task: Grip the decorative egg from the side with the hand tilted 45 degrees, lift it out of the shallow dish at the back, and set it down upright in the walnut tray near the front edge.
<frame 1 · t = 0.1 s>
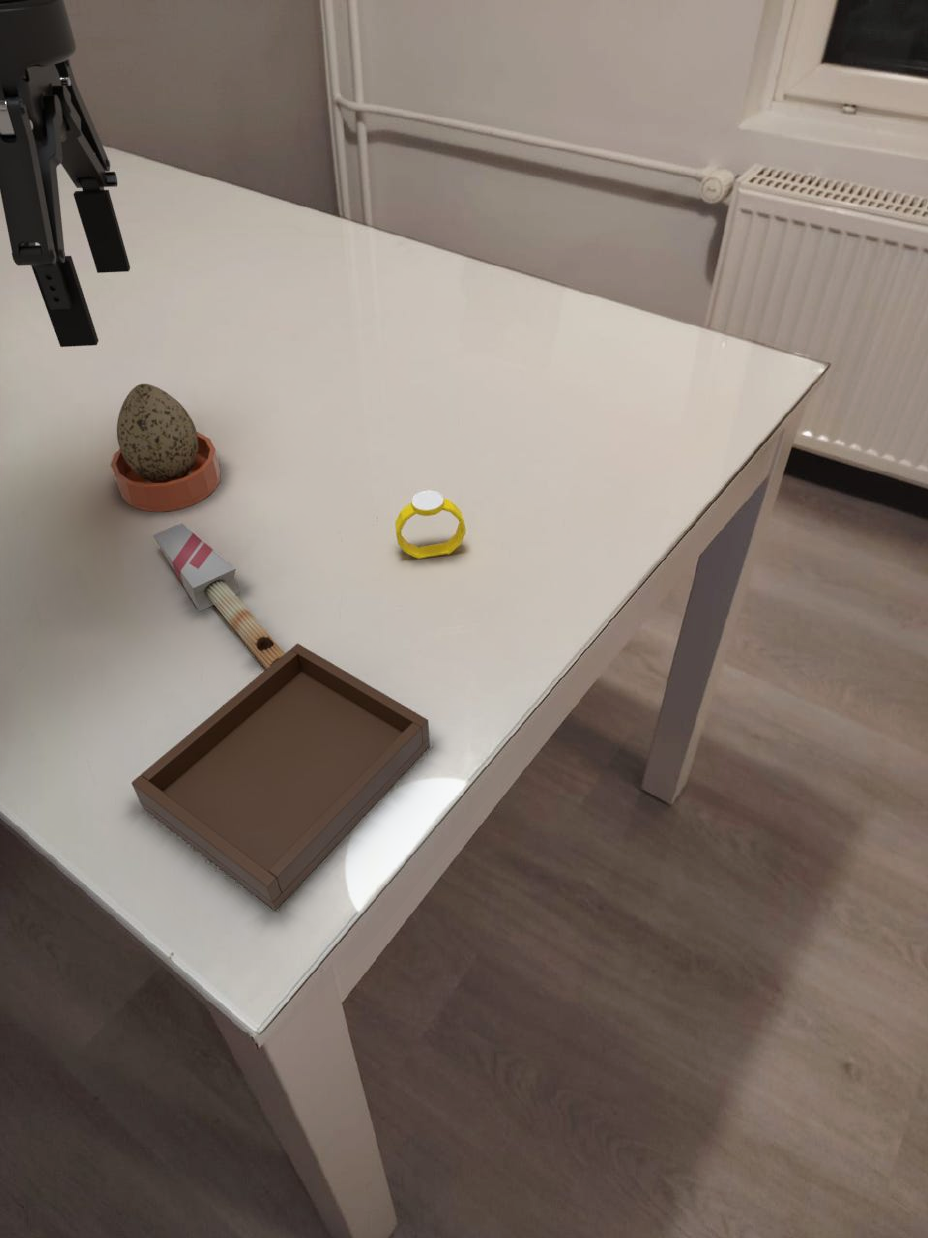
hand: (98, 305, 71), 19 cm above the table, tool pointing down, fingers open, 13 cm apart
watch: (431, 554, 78), on the table
shallow dish: (170, 481, 85), on the table
tray: (290, 776, 61), on the table
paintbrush: (222, 605, 73), on the table
decorative egg: (169, 478, 85), resting on shallow dish
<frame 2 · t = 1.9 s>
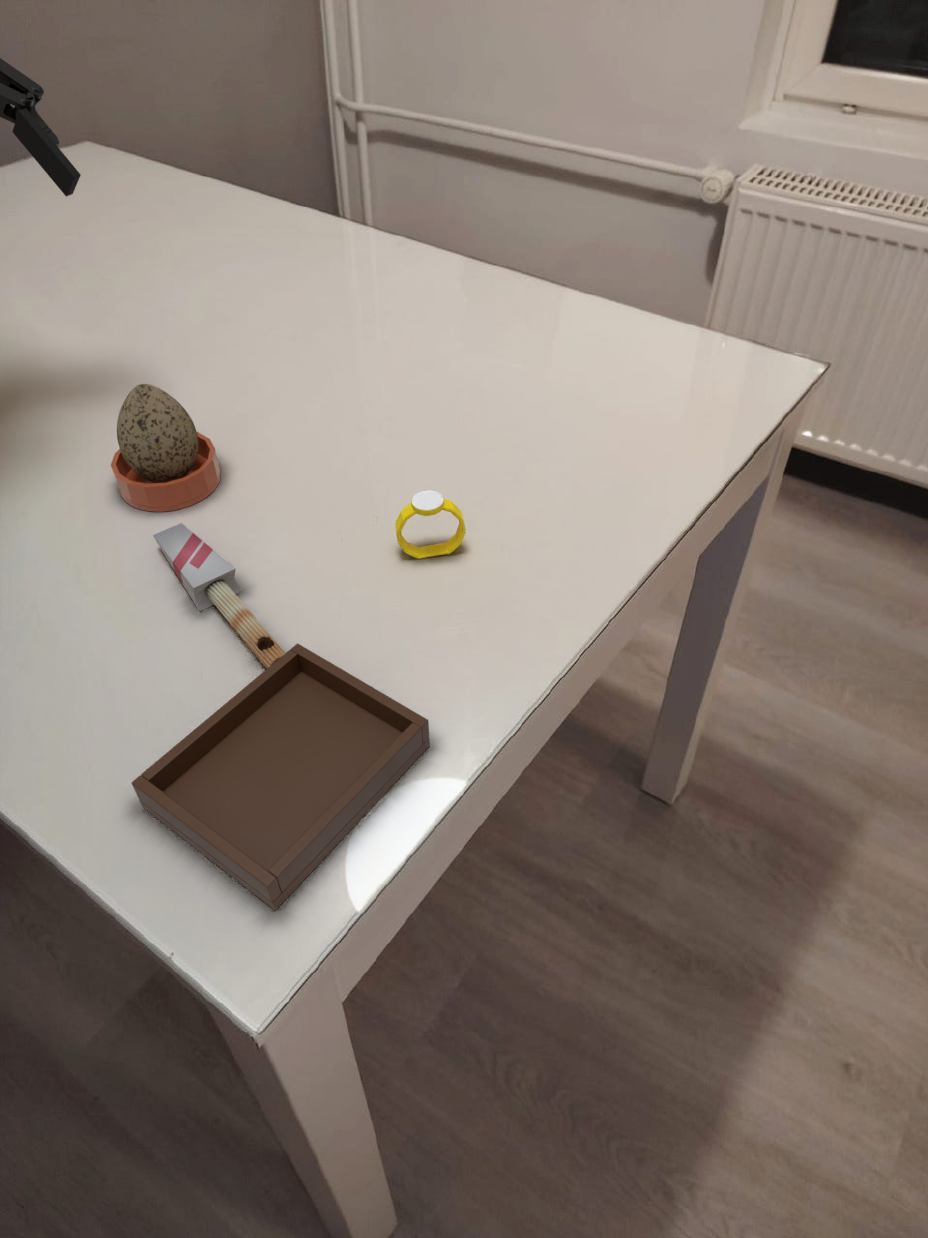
hand: (10, 211, 72), 24 cm above the table, tool tilted 45°, fingers open, 13 cm apart
nothing on the table moved.
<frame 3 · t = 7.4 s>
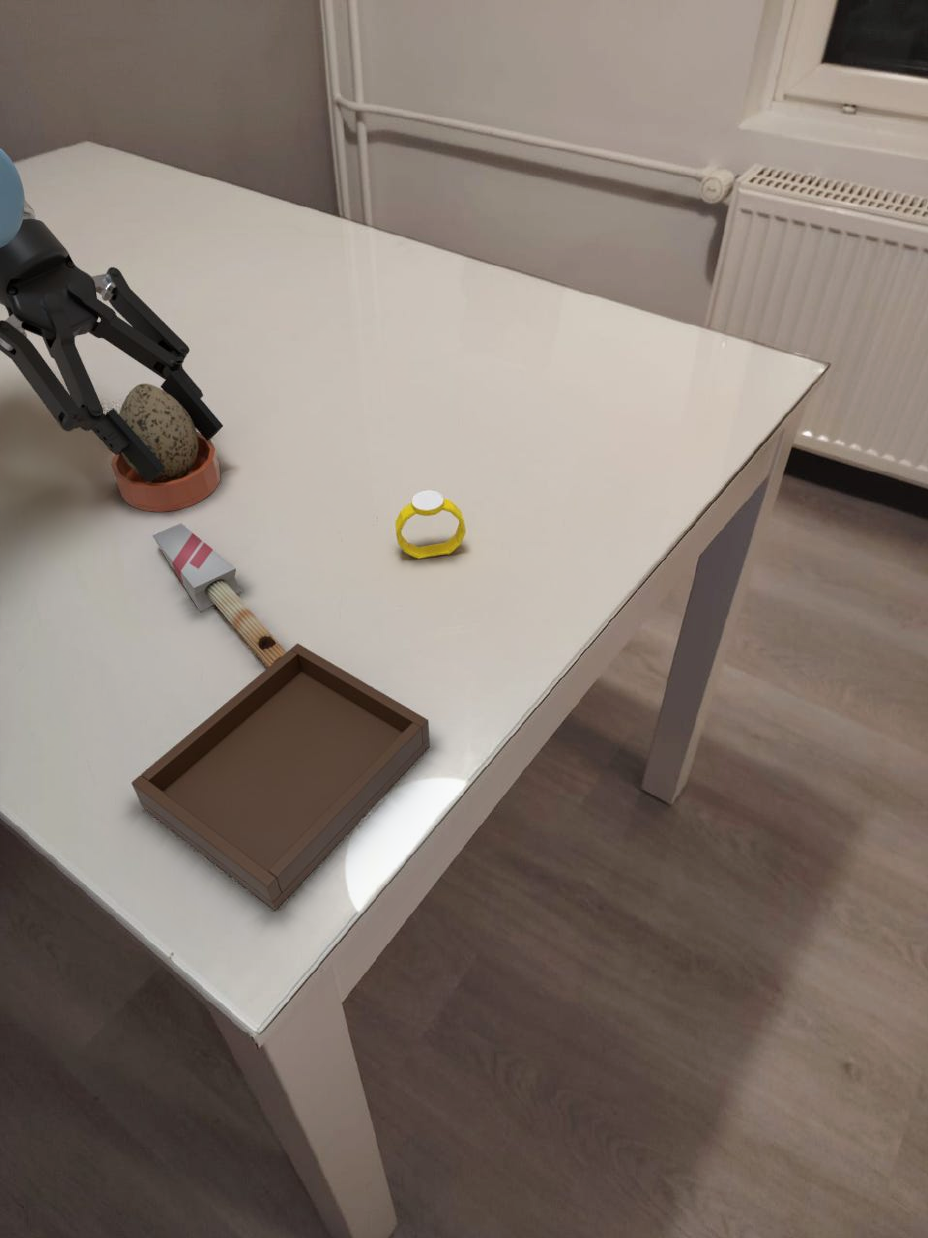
hand: (186, 453, 81), 5 cm above the table, tool tilted 45°, fingers closed on decorative egg, 7 cm apart
decorative egg: (169, 478, 85), resting on shallow dish, touching gripper
everything else where it was.
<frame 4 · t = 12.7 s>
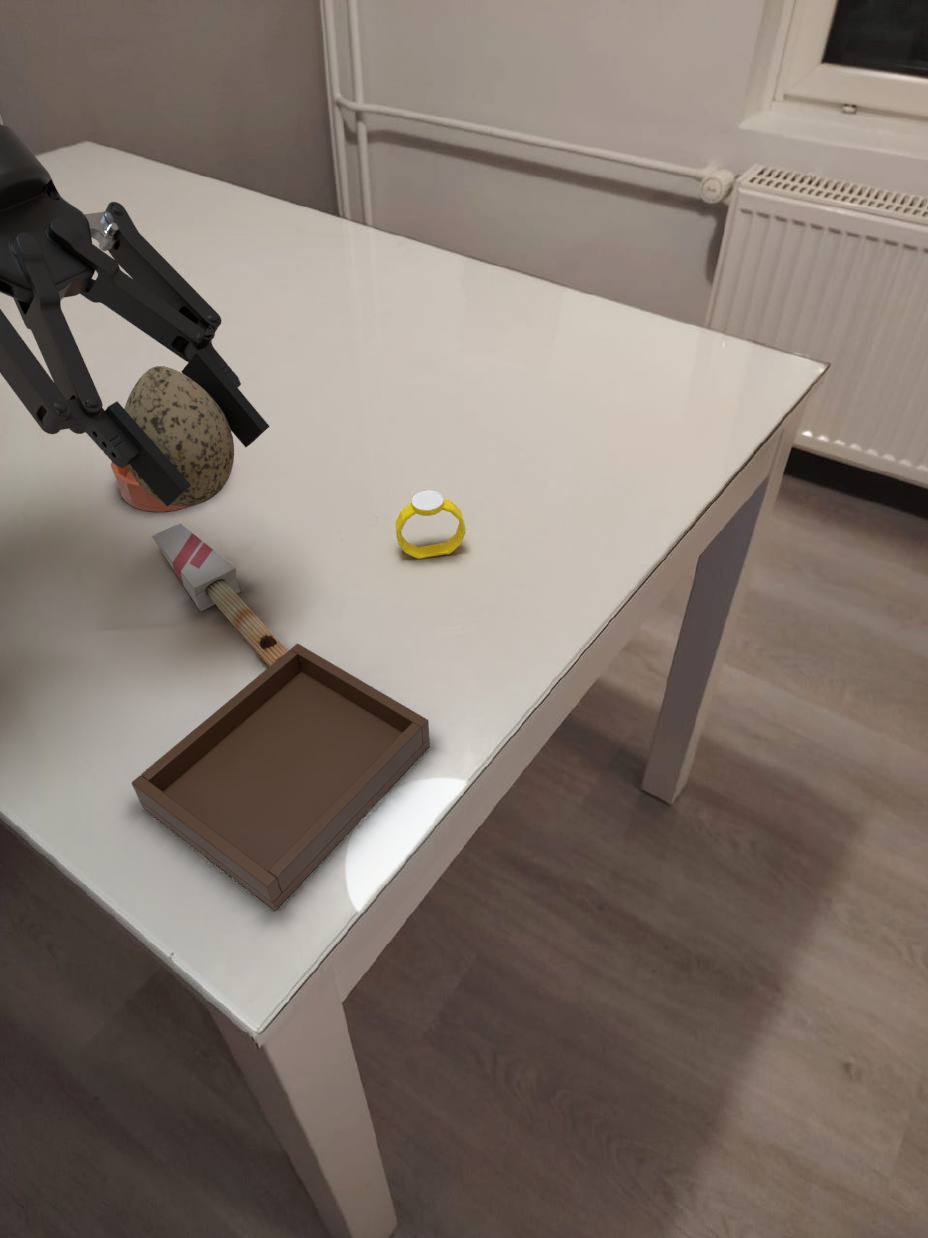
hand: (219, 464, 57), 17 cm above the table, tool tilted 45°, fingers closed on decorative egg, 7 cm apart
decorative egg: (193, 499, 62), point 13 cm above the table, touching gripper
everything else where it was.
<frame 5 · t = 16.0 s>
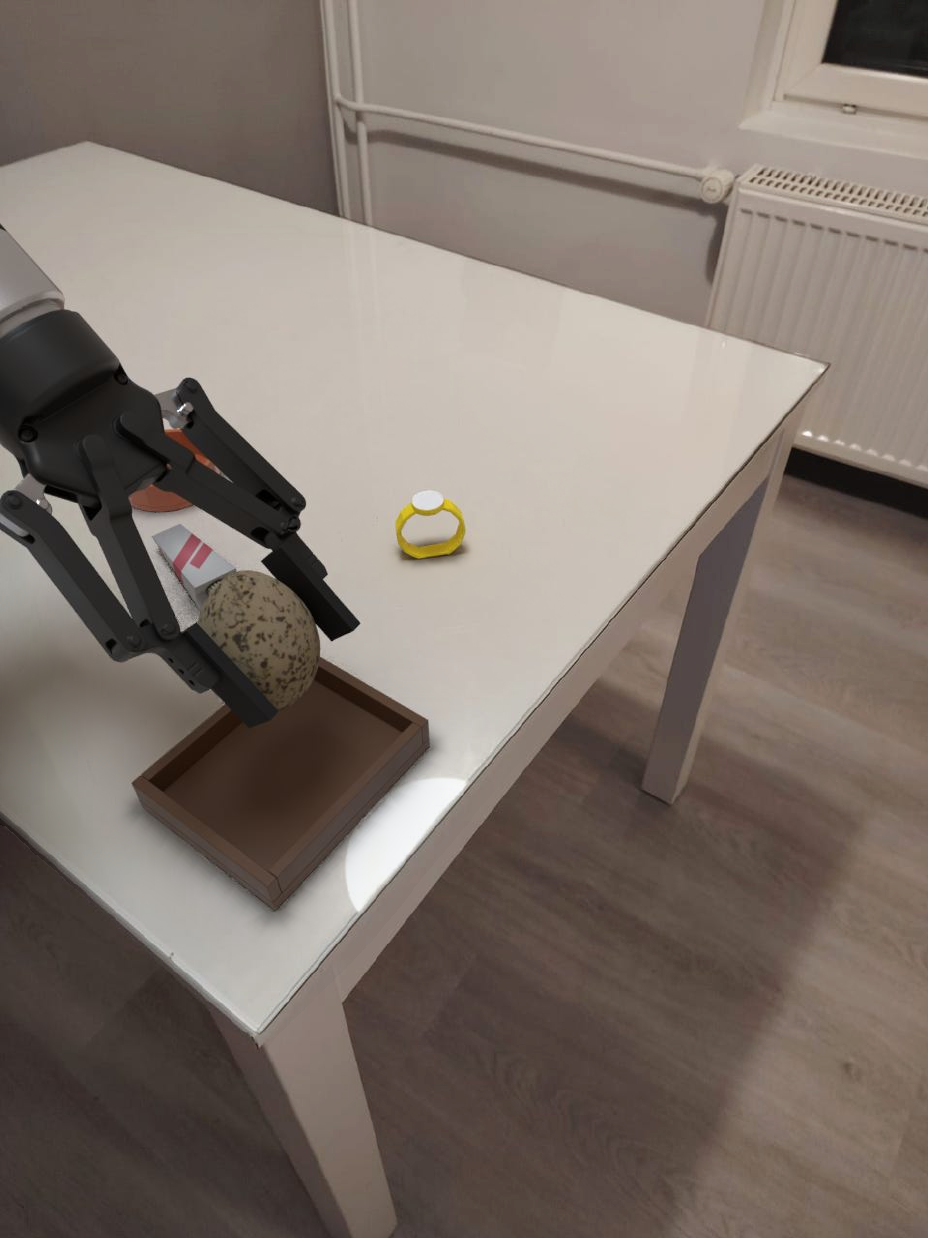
hand: (306, 673, 50), 13 cm above the table, tool tilted 45°, fingers closed on decorative egg, 7 cm apart
decorative egg: (271, 696, 55), point 9 cm above the table, touching gripper
everything else where it was.
when the fingers open (5 cm above the table, at t = 18.5 s): decorative egg stays where it is, resting on tray.
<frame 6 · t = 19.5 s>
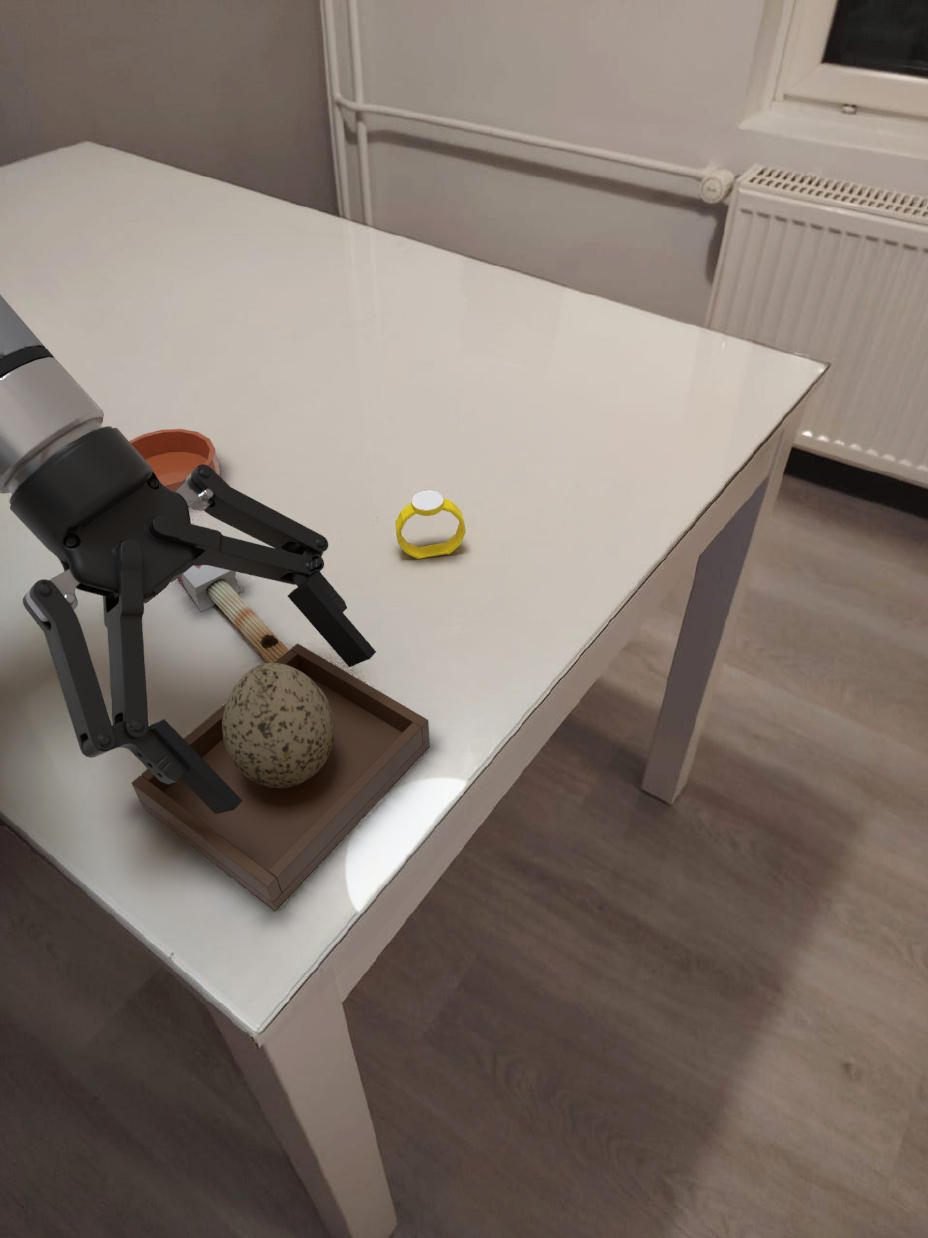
hand: (301, 728, 55), 7 cm above the table, tool tilted 45°, fingers open, 13 cm apart
decorative egg: (289, 768, 60), point 1 cm above the table, touching tray
everything else where it was.
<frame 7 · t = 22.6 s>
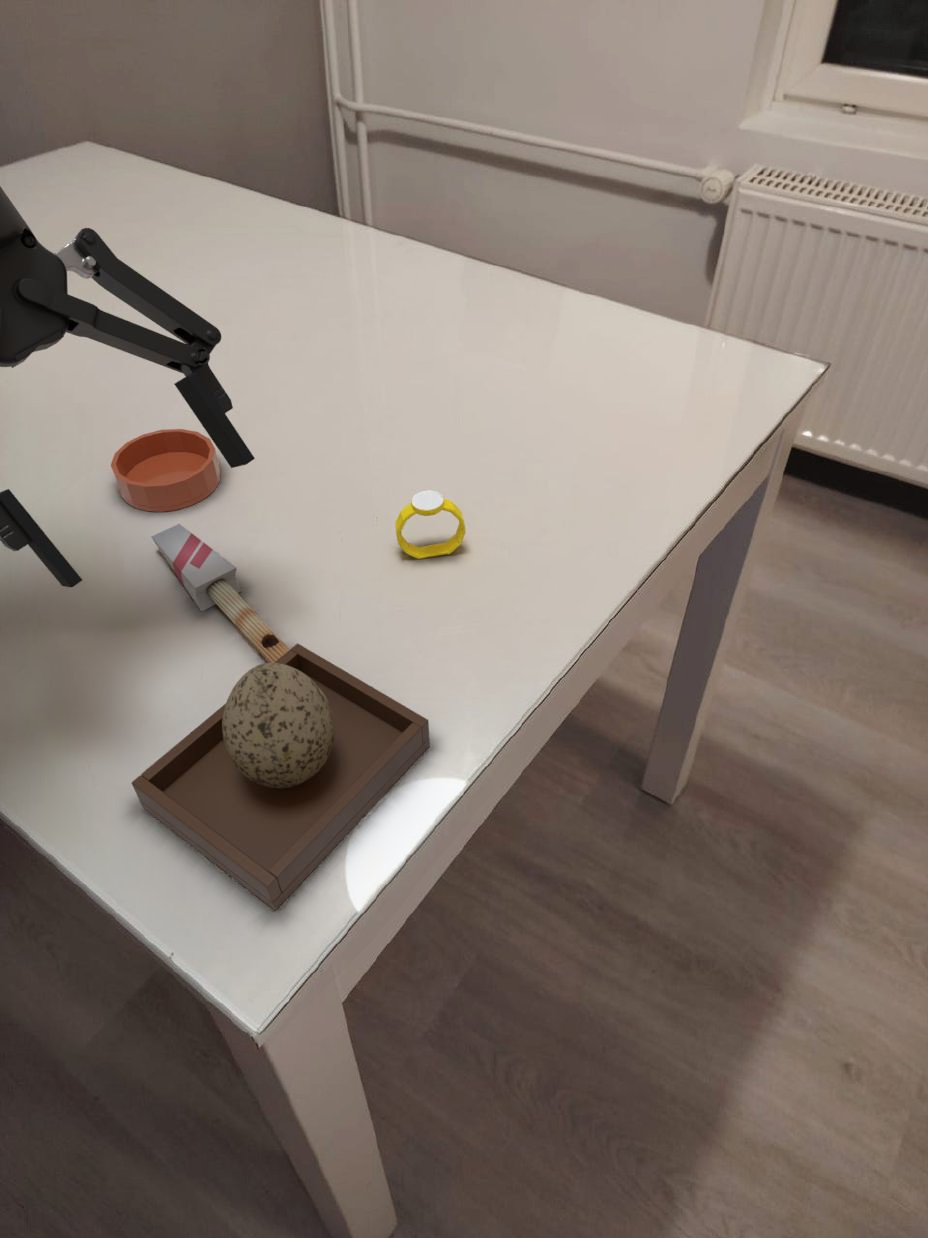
hand: (162, 520, 56), 16 cm above the table, tool tilted 35°, fingers open, 13 cm apart
nothing on the table moved.
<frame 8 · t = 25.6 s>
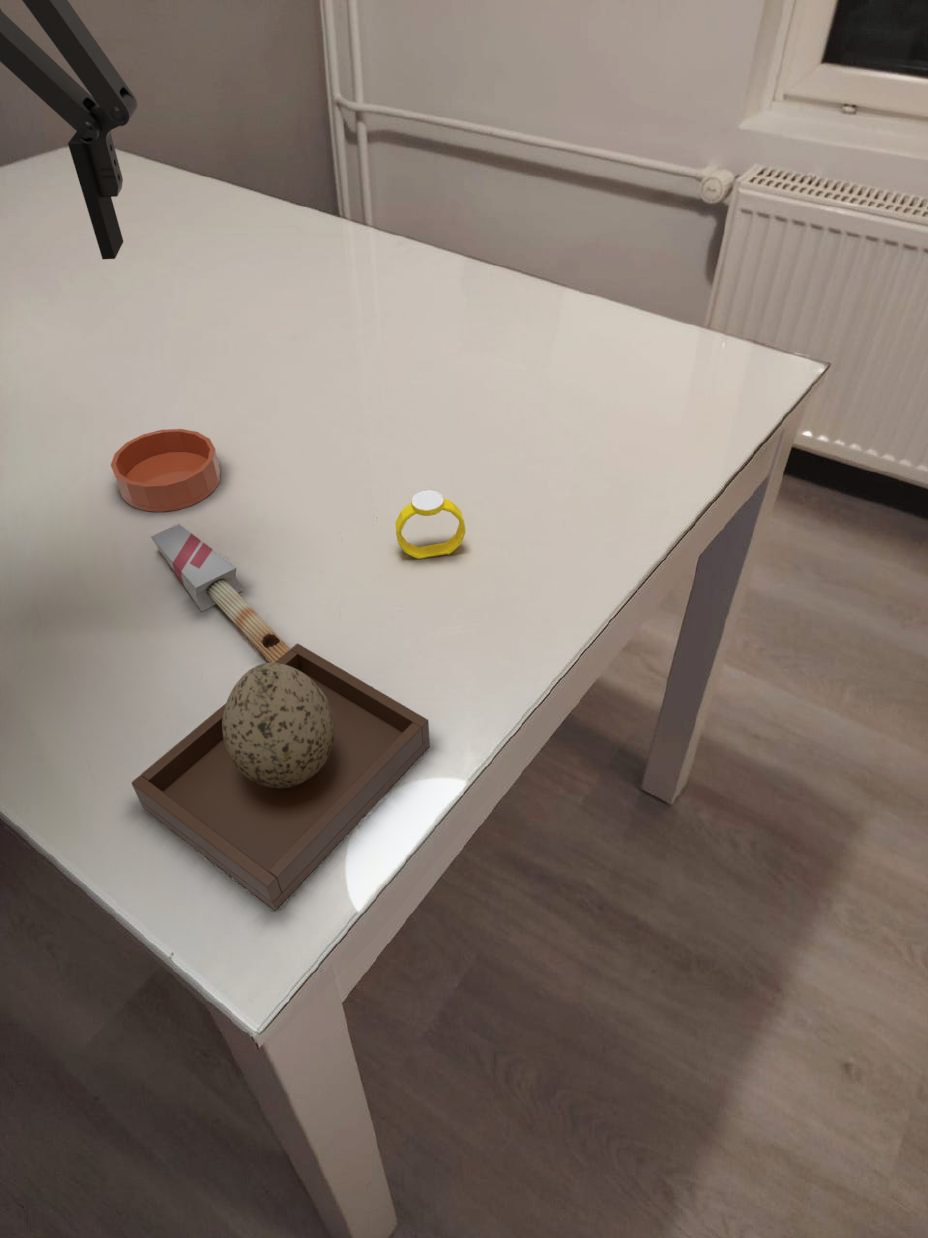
hand: (1, 255, 54), 29 cm above the table, tool pointing down, fingers open, 13 cm apart
nothing on the table moved.
at the end: decorative egg inside the target area in the tray (0.0 cm from its centre), point 0.8 cm above the tray's base; decorative egg tilted 0°; the gripper is holding nothing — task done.
